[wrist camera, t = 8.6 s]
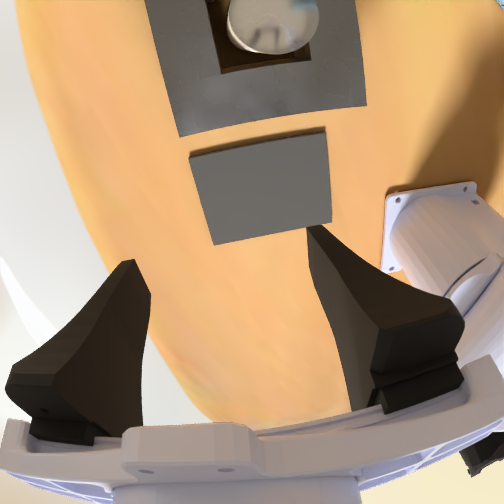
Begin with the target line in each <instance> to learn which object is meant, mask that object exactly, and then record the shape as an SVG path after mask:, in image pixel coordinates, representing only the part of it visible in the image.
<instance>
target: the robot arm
mask: <svg viewBox="0 0 504 504" xmlns="http://www.w3.org/2000/svg"><path fill="white" fill-rule="evenodd" d="M464 187H465V188H464ZM476 190H477V184H476V183H475V182H474V181H469V182H462V183H455V184H449V185H442V186H435V187H429V188H423V189H416V190H410V191H404V192H398V193H392V194H389V195H388V196H387V197H386V199H385V217H384V232H383V245H382V257H381V267H380V270H379V269H377V268H376V267H374V266H372V265H371V264H369V263H368V262H366V261H365V260H363V259H362V258H361V257H359V256H358V255H357V254H355V253H354V252H353V251H352V250H350V249H349V248H348V247H347V246H345V245H344V244H343V243H342V242H341V241H339V240H338V239H337V238H336V237H335V236H334V235H333V234H331V233H330V232H329V231H328V230H327V229H326V228H325V227H324V226H322V225H315V226H309V227H306V230H307V244H308V259H309V268H310V272H311V276H312V279H313V283H314V286H315V289H316V291H317V294H318V296H319V299H320V301H321V304H322V306H323V309H324V311H325V314H326V316H327V318H328V321H329V323H330V326H331V328H332V331H333V334H334V337H335V341H336V345H337V348H338V352H339V356H340V360H341V364H342V368H343V372H344V376H345V381H346V385H347V390H348V395H349V400H350V405H351V410H352V412H350V413H346V414H342V415H338V416H333V417H329V418H324V419H320V420H315V421H310V422H305V423H300V424H295V425H289V426H283V427H277V428H271V429H264V430H257V431H253V430H251V429H250V428H248V427H247V426H246V425H242V424H237V423H232V422H213V423H201V424H187V425H167V426H143V416H142V397H141V377H142V359H143V353H144V347H145V340H146V335H147V329H148V324H149V318H150V306H151V293H150V291H149V289H148V287H147V285H146V283H145V281H144V279H143V276H142V274H141V272H140V270H139V268H138V266H137V264H136V261H135V259H131V260H126V261H122V262H121V263H120V264H119V265H118V266H117V267H116V268H115V269H114V271H113V272H112V273H111V274H110V276H109V277H108V278H107V279H106V281H105V282H104V283H103V284H102V285H101V287H100V288H99V289H98V290H97V292H96V293H95V294H94V295H93V296H92V298H91V299H90V300H89V301H88V302H87V303H86V305H85V306H84V307H83V308H82V309H81V311H80V312H79V313H78V314H77V315H76V316H75V317H74V318H73V319H72V320H71V321H70V322H69V323H68V324H67V325H66V326H65V327H64V328H62V329H61V330H60V331H59V332H58V333H57V334H56V335H54V336H53V337H52V338H51V339H50V340H49V341H47V342H46V343H45V344H44V345H42V346H41V347H40V348H38V349H37V350H36V351H34V352H33V353H31V354H30V355H28V356H27V357H25V358H23V359H22V360H20V361H19V362H17V363H15V364H14V365H13V366H12V369H11V372H10V374H9V377H8V380H7V383H6V386H5V391H6V394H7V395H8V397H9V398H10V399H11V400H12V401H13V402H14V403H15V404H16V405H17V406H19V407H20V408H21V409H22V410H24V411H25V412H26V413H27V414H28V415H30V416H31V417H32V421H31V424H30V423H29V422H26V421H22V420H16V419H8V420H7V424H6V428H5V432H4V435H3V439H2V444H1V448H0V470H2V471H4V472H6V473H8V474H9V475H11V476H13V477H15V478H17V479H19V480H21V481H23V482H25V483H27V484H29V485H31V486H33V487H35V488H39V489H42V490H46V491H50V492H53V493H57V494H61V495H65V496H68V497H72V498H76V499H81V500H85V501H89V502H94V503H98V504H362V501H361V496H360V491H364V490H367V489H370V488H373V487H376V486H379V485H381V484H384V483H387V482H390V481H392V480H395V479H397V478H400V477H403V476H405V475H408V474H410V473H412V472H415V471H417V470H420V469H422V468H424V467H427V466H429V465H431V464H433V463H435V462H438V461H440V460H442V459H444V458H446V457H448V456H450V455H452V454H454V453H456V452H458V451H460V450H462V449H464V448H466V447H468V446H470V445H472V444H474V443H476V442H478V441H480V440H481V439H483V438H485V437H487V436H488V435H489V434H491V433H492V432H504V218H503V217H502V216H501V215H500V214H499V213H498V212H497V211H496V210H494V209H493V208H492V207H491V206H490V205H489V204H488V203H487V202H486V201H484V200H483V199H482V198H481V197H480V196H479V195H477V194H476ZM398 197H399V199H398V200H397V201H396V199H397V198H398ZM390 267H391V268H390ZM399 270H403V272H404V273H405V275H406V276H407V278H408V280H409V281H410V283H411V284H412V286H410V285H408V284H406V283H403V282H401V281H399V280H397V279H395V278H393V277H391V276H389V275H387V273H391V272H395V271H399Z"/></svg>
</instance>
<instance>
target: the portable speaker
mask: <svg viewBox="0 0 504 504" xmlns="http://www.w3.org/2000/svg"><path fill="white" fill-rule="evenodd" d="M459 453H460V454H461V456H462V458H463V460H464V461H465V464H466V465H467V466H468V467H469V469H468V473H469V474H470V475H471V477H473V476H475V475H477V474H479V473H480V472H481V470H482V469H483V468H485V467H486V466H488V465H490V464H492V463H493V462H495V461H501V460H503V459H504V432H492V433H491V434H489V435H488V436H487V437H485V438H483V439H481V440H480V441H478V442H476V443H474V444H472V445H470V446H468V447H466V448H464V449H462V450H460V451H459Z"/></svg>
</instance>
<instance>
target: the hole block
mask: <svg viewBox="0 0 504 504" xmlns="http://www.w3.org/2000/svg"><path fill="white" fill-rule="evenodd" d="M211 1H216V0H145V4H146V9H147V13H148V17H149V21H150V26H151V30H152V34H153V38H154V42H155V46H156V50H157V54H158V58H159V62H160V66H161V70H162V74H163V78H164V82H165V85H166V89H167V93H168V97H169V100H170V104H171V108H172V112H173V115H174V119H175V123H176V126H177V130H178V133H179V137H184V136H188V135H192V134H196V133H200V132H205V131H209V130H213V129H218V128H222V127H227V126H232V125H237V124H242V123H247V122H252V121H257V120H263V119H269V118H275V117H281V116H287V115H293V114H300V113H307V112H315V111H323V110H331V109H340V108H350V107H360V106H367V102H366V89H365V77H364V67H363V58H362V49H361V41H360V33H359V26H358V20H357V13H356V7H355V1H354V0H315V1H316V4H317V7H318V11H319V22H318V26H317V29H316V31H315V33H314V35H313V37H312V38H311V39H310V40H309V41H308V42H307V43H306V44H305V45H304V46H302V47H301V48H299V49H297V50H295V51H294V56H295V57H290V58H282V59H275V60H268V61H262V62H255V63H250V64H244V65H238V66H233V67H228V68H223V69H221V66H220V61H219V57H218V52H217V48H216V43H215V39H214V34H213V30H212V25H211V21H210V16H209V12H208V7H207V3H206V2H211Z"/></svg>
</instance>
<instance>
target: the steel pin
mask: <svg viewBox="0 0 504 504" xmlns="http://www.w3.org/2000/svg"><path fill="white" fill-rule="evenodd" d="M318 22H319V11H318V7H317V4H316V1H315V0H231V2H230V6H229V12H228V18H227V25H226V32H227V36H228V38H229V40H230V41H231V42H232V44H234V45H235V46H236V47H238V48H239V49H242V50H245V51H251V52H259V53H266V54H285V53H289V52H292V51H295V50H297V49H299V48H301V47H302V46H304V45H305V44H306V43H307V42H308V41H309V40H310V39H311V38H312V37H313V35H314V33H315V31H316V29H317V26H318Z"/></svg>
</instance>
